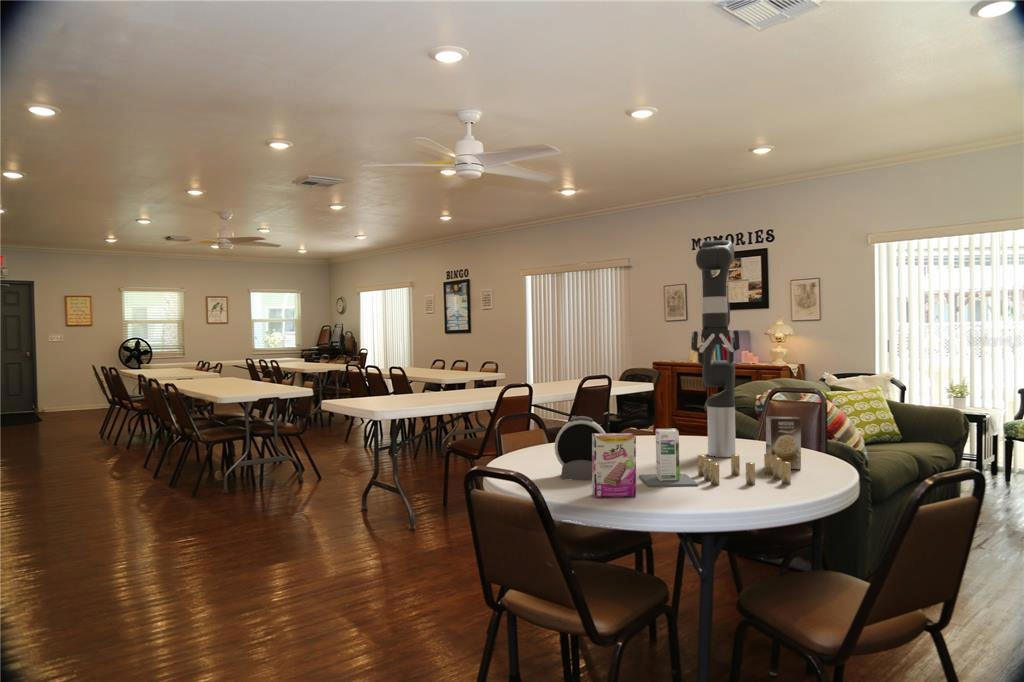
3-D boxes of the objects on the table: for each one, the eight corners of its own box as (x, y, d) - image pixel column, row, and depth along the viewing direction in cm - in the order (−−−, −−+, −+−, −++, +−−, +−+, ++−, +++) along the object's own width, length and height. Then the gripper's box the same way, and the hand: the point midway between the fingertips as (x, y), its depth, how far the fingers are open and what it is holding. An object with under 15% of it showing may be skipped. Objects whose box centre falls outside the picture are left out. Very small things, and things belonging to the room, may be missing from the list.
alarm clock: (554, 480, 200) (553, 418, 200) (557, 473, 210) (556, 414, 210) (609, 480, 198) (608, 418, 198) (609, 473, 208) (608, 414, 208)
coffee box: (771, 470, 209) (770, 418, 209) (765, 466, 216) (764, 416, 215) (801, 470, 208) (801, 418, 208) (795, 466, 215) (794, 416, 215)
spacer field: (697, 474, 204) (696, 455, 204) (771, 473, 204) (770, 453, 204) (712, 486, 189) (711, 464, 189) (792, 484, 189) (791, 463, 189)
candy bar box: (594, 498, 176) (593, 436, 176) (591, 494, 181) (591, 433, 181) (637, 497, 177) (636, 435, 177) (633, 493, 182) (632, 432, 182)
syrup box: (659, 481, 193) (659, 430, 193) (656, 477, 199) (655, 427, 199) (679, 481, 193) (679, 430, 193) (675, 476, 199) (674, 427, 199)
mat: (639, 476, 203) (639, 474, 203) (685, 475, 203) (685, 473, 203) (648, 486, 189) (648, 484, 189) (698, 486, 189) (698, 483, 189)
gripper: (733, 312, 211) (734, 363, 212) (688, 312, 211) (689, 364, 212) (742, 311, 204) (742, 364, 204) (694, 311, 204) (695, 365, 204)
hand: (715, 364), depth 208 cm, fingers open, 8 cm apart
